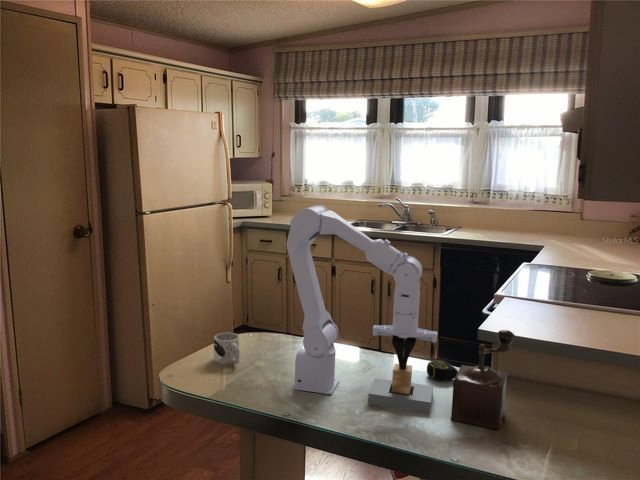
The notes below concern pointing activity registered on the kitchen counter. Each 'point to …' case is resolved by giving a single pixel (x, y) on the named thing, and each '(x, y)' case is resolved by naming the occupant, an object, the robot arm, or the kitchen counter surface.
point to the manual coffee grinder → (481, 390)
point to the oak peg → (401, 380)
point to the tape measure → (441, 370)
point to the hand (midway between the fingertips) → (402, 367)
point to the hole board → (401, 396)
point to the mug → (226, 348)
